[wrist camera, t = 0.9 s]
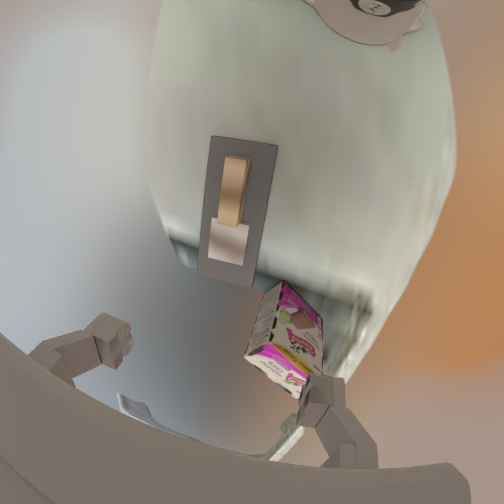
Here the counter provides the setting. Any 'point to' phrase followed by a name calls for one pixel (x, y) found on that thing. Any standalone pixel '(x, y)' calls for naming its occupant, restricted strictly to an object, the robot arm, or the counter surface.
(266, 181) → the mat
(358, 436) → the robot arm
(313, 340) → the candy bar box
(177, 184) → the counter surface
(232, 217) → the wooden handled scraper
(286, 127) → the counter surface
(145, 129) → the counter surface
